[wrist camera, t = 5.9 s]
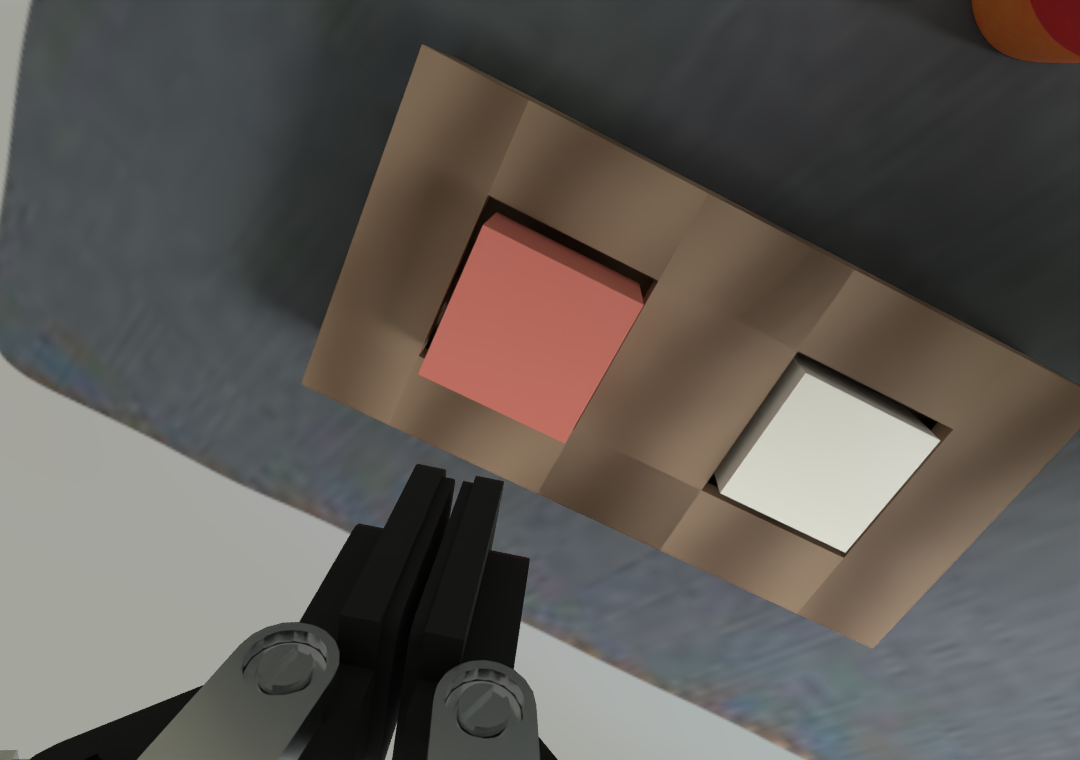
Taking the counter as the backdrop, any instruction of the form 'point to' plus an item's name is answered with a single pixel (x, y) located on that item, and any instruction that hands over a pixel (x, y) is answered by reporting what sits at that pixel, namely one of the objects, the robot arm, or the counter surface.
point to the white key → (823, 454)
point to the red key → (531, 327)
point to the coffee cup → (1031, 28)
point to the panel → (676, 352)
